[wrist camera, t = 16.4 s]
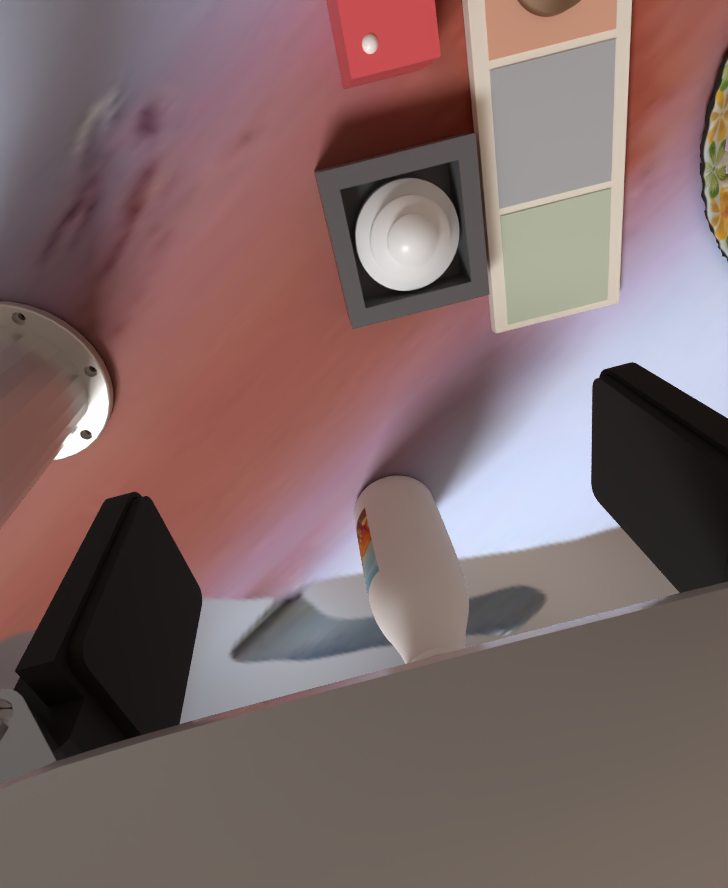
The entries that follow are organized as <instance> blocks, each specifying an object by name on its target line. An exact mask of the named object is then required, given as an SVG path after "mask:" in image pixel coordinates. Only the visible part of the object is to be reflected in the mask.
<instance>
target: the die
mask: <svg viewBox="0 0 728 888" xmlns="http://www.w3.org/2000/svg"><path fill="white" fill-rule="evenodd" d="M326 1H327V6H328V11H329V16H330V21H331V26H332V31H333V37H334V42H335V47H336V52H337V57H338V62H339V67H340V72H341V78H342V83H343V88H344V89H346V88H350V87H354V86H358V85H362V84H366V83H370V82H374V81H378V80H381V79H385V78H389V77H393V76H397V75H401V74H405V73H409V72H413V71H417V70H421V69H423V68H424V67H426V66H427V65H429V64H430V63H432V62H434V61H435V60H437V59H438V58H440V57H441V53H440V44H439V35H438V26H437V17H436V7H435V0H326Z"/></svg>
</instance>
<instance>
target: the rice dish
mask: <svg viewBox="0 0 728 888" xmlns="http://www.w3.org/2000/svg"><path fill="white" fill-rule="evenodd" d="M727 135H728V54H727V56H726V58H725V59H724V61H723V63H722V64H721V66H720V72H719V75H718V77H717V80H716V82H715V87H714V94H713V97H712V99H711V101H710V103H709V105H708V107H707V111H706V116H705V130H704V137H703V139H702V142H701V144H700V157H701V161H702V163H700V175H701V178H702V182H703V190H702V193H701V197H702V199H703V201H704V202H705V205H706V209H705V211H704V212H705V216H706V219H707V220H708V223H709V227H710V231H711V232H712V233H713V234H714V236H715V238H716V242H717V243H718V248H719V249H720V250H721V252H722V256H725V257H726V258H727V261H728V174H726V170H725V168H726V167H727V166H728V152H726V151H725V144H726V139H727Z"/></svg>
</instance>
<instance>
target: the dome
mask: <svg viewBox="0 0 728 888" xmlns="http://www.w3.org/2000/svg"><path fill="white" fill-rule="evenodd" d="M458 241H459V221H458V216H457V213H456V210H455V208H454V206H453V204H452V202H451V200H450V199H449V197H448V196H447V195H446V194H445V193H444V192H443V191H442V190H441V189H440V188H439V187H437V186H436V185H434V184H432V183H430V182H428V181H425V180H421V179H417V178H410V177H408V178H398V179H394V180H391V181H388V182H386V183H384V184H382V185H381V186H379V187H378V188H376V189H375V190H374V191H373V192H372V193H371V194H370V195H369V196H368V197H367V198H366V200H365V201H364V203H363V204H362V206H361V208H360V210H359V212H358V215H357V218H356V222H355V228H354V242H355V248H356V252H357V255H358V257H359V260H360V262H361V263H362V265H363V267H364V268H365V270H366V271H367V272H368V274H369V275H370V276H371V277H372V278H373V279H374V280H375V281H377V282H378V283H379V284H381V285H383V286H385V287H387V288H390V289H394V290H400V291H410V290H416V289H419V288H422V287H425V286H427V285H429V284H430V283H432V282H434V281H435V280H436V279H437V278H439V277H440V276H441V275H442V274H443V273H444V272H445V270H446V269H447V268H448V266H449V265H450V263H451V261H452V260H453V258H454V255H455V253H456V250H457V247H458Z"/></svg>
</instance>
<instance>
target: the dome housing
mask: <svg viewBox="0 0 728 888" xmlns="http://www.w3.org/2000/svg"><path fill="white" fill-rule="evenodd" d="M314 173H315V177H316V182H317V186H318V190H319V194H320V198H321V203H322V207H323V211H324V215H325V220H326V224H327V228H328V232H329V237H330V241H331V245H332V249H333V254H334V258H335V262H336V266H337V270H338V275H339V279H340V283H341V287H342V292H343V296H344V300H345V304H346V309H347V313H348V317H349V319H350V322H351V325H352V328H353V329H355V328H359V327H363V326H367V325H371V324H375V323H379V322H383V321H387V320H391V319H395V318H399V317H403V316H407V315H411V314H414V313H418V312H422V311H426V310H430V309H434V308H438V307H442V306H446V305H450V304H454V303H458V302H462V301H466V300H470V299H474V298H478V297H482V296H486V295H490V292H489V281H488V269H487V258H486V246H485V235H484V224H483V212H482V201H481V189H480V178H479V167H478V155H477V144H476V133H469V134H459V135H455V136H451V137H447V138H443V139H440V140H436V141H432V142H428V143H424V144H420V145H416V146H412V147H408V148H404V149H400V150H396V151H392V152H388V153H384V154H380V155H376V156H372V157H368V158H365V159H361V160H357V161H353V162H349V163H345V164H341V165H337V166H333V167H329V168H325V169H321V170H317V171H314ZM408 177H410V178H417V179H421V180H425V181H428V182H430V183H432V184H434V185H436V186H437V187H439V188H440V189H441V190H442V191H443V192H444V193H445V194H446V195H447V196H448V197H449V199H450V200H451V202H452V204H453V206H454V208H455V210H456V213H457V216H458V221H459V241H458V247H457V250H456V253H455V255H454V258H453V260H452V261H451V263H450V265H449V266H448V268H447V269H446V270H445V272H444V273H443V274H442V275H441V276H440V277H439V278H437V279H436V280H435V281H434V282H432V283H430V284H429V285H427V286H425V287H422V288H419V289H416V290H410V291H400V290H394V289H390V288H387V287H385V286H383V285H381V284H379V283H378V282H377V281H375V280H374V279H373V278H372V277H371V276H370V275H369V274H368V272H367V271H366V270H365V268H364V267H363V265H362V263H361V262H360V260H359V257H358V255H357V252H356V248H355V242H354V228H355V222H356V218H357V215H358V212H359V210H360V208H361V206H362V204H363V203H364V201H365V200H366V198H367V197H368V196H369V195H370V194H371V193H372V192H373V191H374V190H375V189H376V188H378V187H379V186H381V185H382V184H384V183H386V182H388V181H391V180H394V179H398V178H408Z"/></svg>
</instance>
